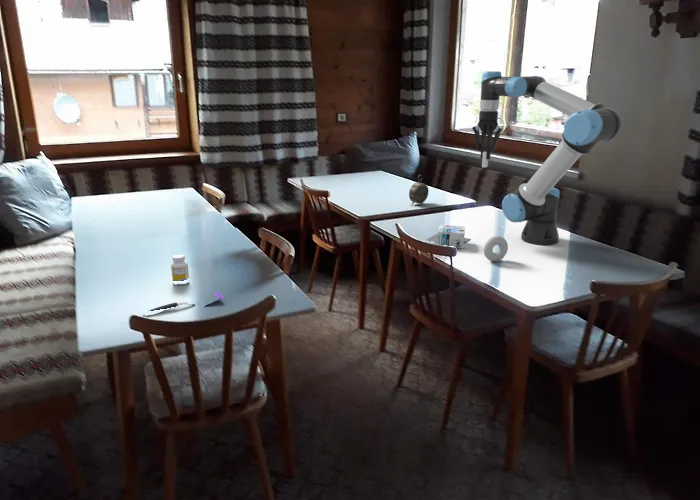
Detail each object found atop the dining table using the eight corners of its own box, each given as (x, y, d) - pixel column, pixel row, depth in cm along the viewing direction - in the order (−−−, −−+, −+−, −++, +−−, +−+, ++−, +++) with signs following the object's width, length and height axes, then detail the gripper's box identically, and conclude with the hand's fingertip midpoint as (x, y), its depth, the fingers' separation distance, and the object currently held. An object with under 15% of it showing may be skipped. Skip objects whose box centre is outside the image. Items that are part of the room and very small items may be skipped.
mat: (470, 239, 238) (470, 238, 238) (453, 249, 226) (453, 248, 226) (438, 233, 247) (438, 233, 247) (421, 242, 235) (421, 241, 234)
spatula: (145, 321, 164) (144, 313, 164) (141, 312, 170) (140, 305, 169) (224, 304, 176) (224, 297, 175) (218, 297, 181) (217, 290, 181)
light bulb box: (464, 233, 224) (437, 231, 225) (463, 249, 226) (436, 247, 228) (464, 225, 233) (438, 224, 235) (463, 241, 236) (437, 239, 238)
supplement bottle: (179, 279, 195) (176, 252, 192) (192, 281, 193) (189, 254, 190) (169, 284, 191) (166, 257, 188) (182, 286, 189) (179, 259, 186)
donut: (503, 258, 216) (505, 233, 212) (508, 261, 212) (510, 236, 209) (480, 261, 213) (482, 236, 209) (485, 264, 209) (487, 238, 206)
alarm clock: (422, 202, 302) (423, 172, 297) (429, 204, 298) (431, 174, 293) (408, 205, 295) (409, 175, 290) (415, 207, 291) (416, 176, 286)
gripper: (507, 110, 231) (502, 167, 238) (477, 109, 238) (474, 164, 245) (500, 111, 225) (495, 169, 232) (470, 110, 232) (466, 166, 240)
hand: (484, 166), depth 239 cm, fingers closed
